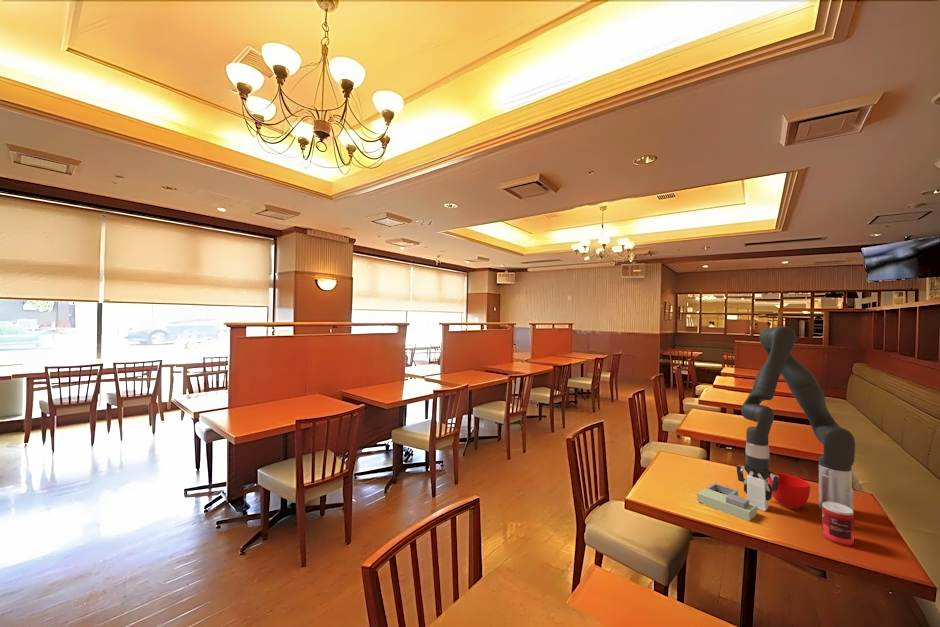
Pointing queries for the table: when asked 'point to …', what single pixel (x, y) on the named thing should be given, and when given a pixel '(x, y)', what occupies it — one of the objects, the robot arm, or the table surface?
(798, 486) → the ceramic cup
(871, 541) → the table surface
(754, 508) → the green base with arch
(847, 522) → the canned food
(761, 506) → the skincare box
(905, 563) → the table surface
